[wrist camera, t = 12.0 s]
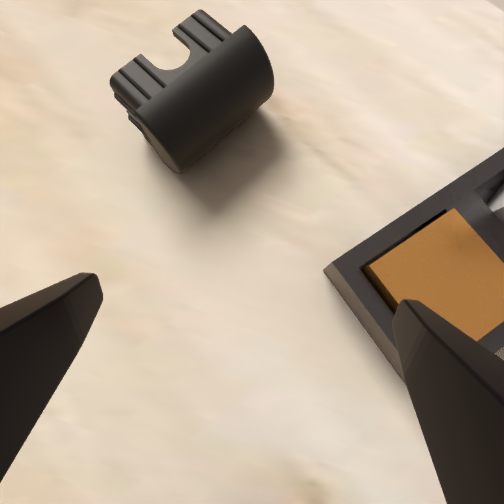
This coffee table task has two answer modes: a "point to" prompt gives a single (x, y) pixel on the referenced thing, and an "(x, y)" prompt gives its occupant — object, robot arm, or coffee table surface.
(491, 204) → the white soap bottle
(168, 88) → the end cap
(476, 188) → the two-compartment sponge tray
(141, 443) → the coffee table surface
